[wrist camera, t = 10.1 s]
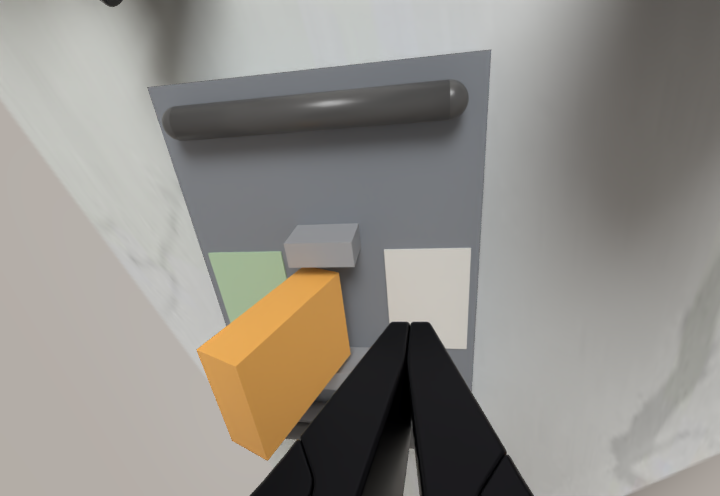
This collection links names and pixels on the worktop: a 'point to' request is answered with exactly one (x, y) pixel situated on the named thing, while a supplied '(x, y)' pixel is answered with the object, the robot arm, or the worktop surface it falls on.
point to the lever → (278, 358)
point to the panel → (341, 190)
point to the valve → (111, 2)
